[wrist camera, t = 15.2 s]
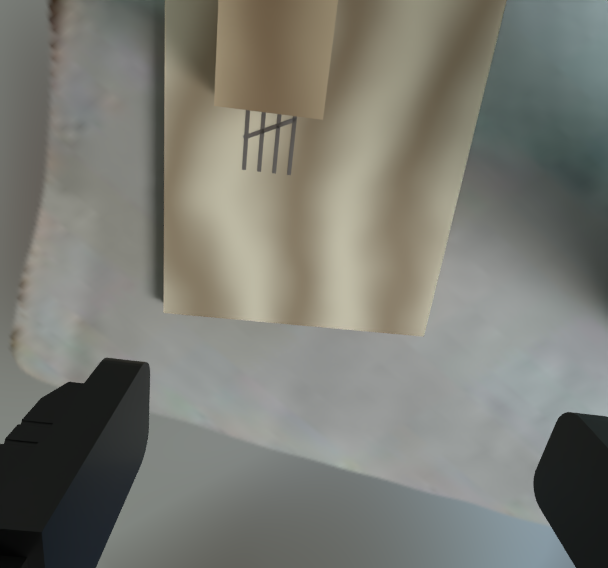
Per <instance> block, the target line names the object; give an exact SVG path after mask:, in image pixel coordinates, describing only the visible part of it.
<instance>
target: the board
mask: <svg viewBox="0 0 608 568" xmlns="http://www.w3.org/2000/svg"><path fill="white" fill-rule="evenodd" d="M506 1H507V0H338V5H337V13H336V21H335V29H334V37H333V45H332V52H331V60H330V68H329V76H328V84H327V92H326V100H325V108H324V115H323V120H321V119H313V118H305V117H297V116H289V115H281V114H273V113H266V112H258V111H250V110H242V109H234V108H226V107H218V106H214V94H215V70H216V47H217V23H218V0H165V89H164V313H171V314H182V315H193V316H204V317H215V318H226V319H237V320H248V321H259V322H270V323H281V324H292V325H303V326H314V327H325V328H336V329H347V330H358V331H369V332H380V333H391V334H402V335H413V336H424V334H425V330H426V326H427V322H428V318H429V313H430V309H431V305H432V301H433V297H434V293H435V289H436V285H437V281H438V277H439V273H440V269H441V265H442V261H443V257H444V253H445V249H446V244H447V240H448V236H449V232H450V228H451V224H452V220H453V216H454V212H455V208H456V204H457V200H458V196H459V192H460V188H461V184H462V180H463V176H464V171H465V167H466V163H467V159H468V155H469V151H470V147H471V143H472V139H473V135H474V131H475V127H476V123H477V119H478V115H479V111H480V107H481V102H482V98H483V94H484V90H485V86H486V82H487V78H488V74H489V70H490V66H491V62H492V58H493V54H494V50H495V46H496V42H497V38H498V34H499V29H500V25H501V21H502V17H503V13H504V9H505V5H506Z"/></svg>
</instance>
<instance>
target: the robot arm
mask: <svg viewBox="0 0 608 568" xmlns="http://www.w3.org/2000/svg"><path fill="white" fill-rule="evenodd" d="M149 394H150V368H149V364H148V363H147V362H140V361H131V360H122V359H114V358H104V359H103V360H102V361H101V362H100V364H99V365H98V366H97V367H96V369H95V370H94V371H93V373H92V374H91V375H90V377H89V378H88V379H87V380H86V382H85V383H75V382H68V383H66V384H64V385H63V386H61V387H59V388H58V389H56V390H54V391H53V392H51V393H49V394H47V395H46V396H44V397H42V398H41V399H40V400H39V401H38V402H37V403H36V405H35V406H34V407H33V408H32V409H31V410H30V412H28V414H27V415H26V416H25V417H24V419H22V423H21V425H17V426H16V427H15V428H14V429H13V431H12V432H11V433H10V434H9V435H8V436H7V437H6V439H5V443H4V444H0V568H96V566H97V564H98V561H99V559H100V557H101V555H102V552H103V550H104V548H105V545H106V543H107V541H108V539H109V536H110V534H111V532H112V529H113V527H114V525H115V523H116V520H117V518H118V516H119V513H120V511H121V509H122V507H123V504H124V502H125V500H126V498H127V495H128V493H129V491H130V488H131V486H132V484H133V482H134V479H135V477H136V475H137V473H138V470H139V468H140V465H141V463H142V460H143V457H144V453H145V450H146V445H147V440H148V432H149V431H148V430H149ZM534 493H535V497H536V501H537V503H538V505H539V507H540V509H541V511H542V512H543V514H544V516H545V517H546V519H547V521H548V522H549V524H550V526H551V527H552V529H553V530H554V532H555V534H556V535H557V537H558V539H559V540H560V542H561V544H562V545H563V547H564V549H565V550H566V552H567V554H568V555H569V557H570V559H571V560H572V562H573V563H574V565H575V567H576V568H608V417H606V416H598V415H589V414H580V413H572V412H567V413H564V414H562V415H561V416H560V417H559V418H558V420H557V422H556V424H555V427H554V429H553V431H552V434H551V436H550V438H549V441H548V443H547V445H546V448H545V450H544V452H543V455H542V457H541V459H540V462H539V464H538V466H537V469H536V471H535V475H534Z"/></svg>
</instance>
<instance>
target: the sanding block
mask: <svg viewBox="0 0 608 568" xmlns="http://www.w3.org/2000/svg"><path fill="white" fill-rule="evenodd" d="M337 5H338V0H218V23H217V47H216V70H215V94H214V106H218V107H226V108H234V109H242V110H250V111H258V112H266V113H273V114H281V115H289V116H297V117H305V118H313V119H321V120H323V115H324V108H325V100H326V92H327V84H328V76H329V68H330V60H331V52H332V45H333V37H334V29H335V21H336V13H337Z"/></svg>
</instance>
